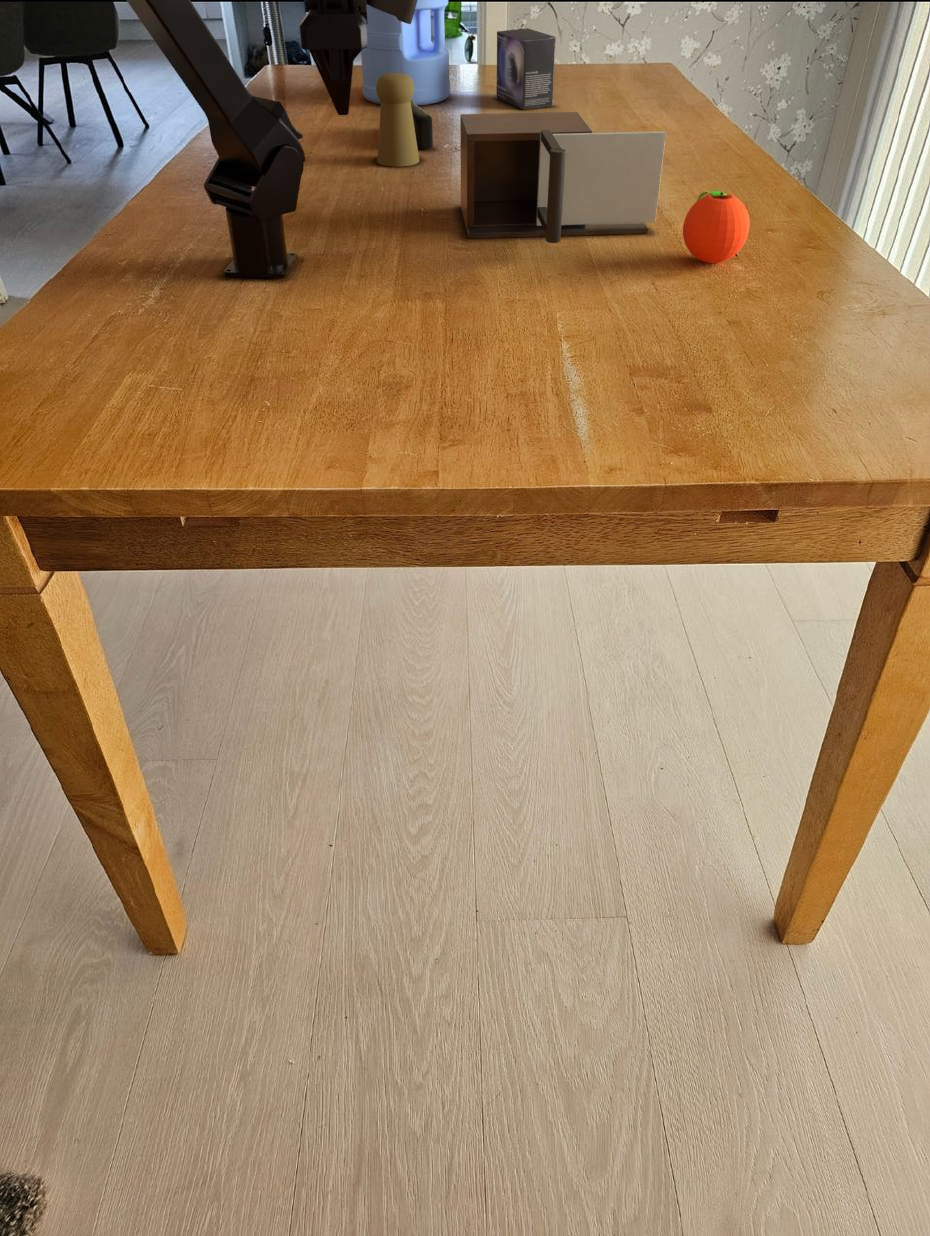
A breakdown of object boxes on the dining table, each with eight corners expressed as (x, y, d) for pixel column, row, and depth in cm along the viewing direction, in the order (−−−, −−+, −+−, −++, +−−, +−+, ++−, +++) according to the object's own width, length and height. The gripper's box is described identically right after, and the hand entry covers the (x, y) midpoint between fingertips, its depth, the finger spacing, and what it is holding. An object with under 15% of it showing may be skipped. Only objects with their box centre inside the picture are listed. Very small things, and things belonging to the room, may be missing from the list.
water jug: (349, 104, 164) (334, -97, 146) (381, 87, 176) (371, -101, 158) (434, 109, 161) (429, -96, 143) (461, 91, 172) (460, -100, 155)
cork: (369, 163, 134) (363, 75, 127) (391, 153, 138) (387, 68, 131) (405, 168, 132) (402, 79, 125) (427, 158, 136) (424, 72, 129)
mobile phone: (435, 114, 137) (403, 91, 147) (416, 115, 136) (384, 93, 147) (436, 151, 140) (404, 126, 151) (417, 153, 139) (386, 128, 150)
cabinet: (468, 238, 108) (468, 139, 102) (460, 207, 118) (460, 114, 111) (647, 233, 110) (659, 134, 103) (625, 203, 119) (635, 110, 112)
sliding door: (546, 253, 102) (551, 152, 95) (533, 224, 109) (537, 128, 103) (676, 250, 102) (690, 149, 96) (654, 221, 110) (665, 126, 104)
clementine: (661, 252, 105) (670, 184, 100) (715, 244, 107) (726, 177, 102) (700, 275, 99) (711, 204, 94) (756, 267, 101) (769, 197, 96)
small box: (493, 98, 168) (494, 30, 161) (525, 95, 170) (528, 27, 163) (520, 110, 160) (523, 38, 154) (554, 106, 163) (557, 36, 156)
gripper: (417, -60, 83) (423, 133, 93) (410, -75, 98) (415, 95, 107) (290, -59, 83) (310, 136, 92) (302, -74, 97) (317, 96, 107)
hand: (343, 114), depth 100 cm, fingers closed
